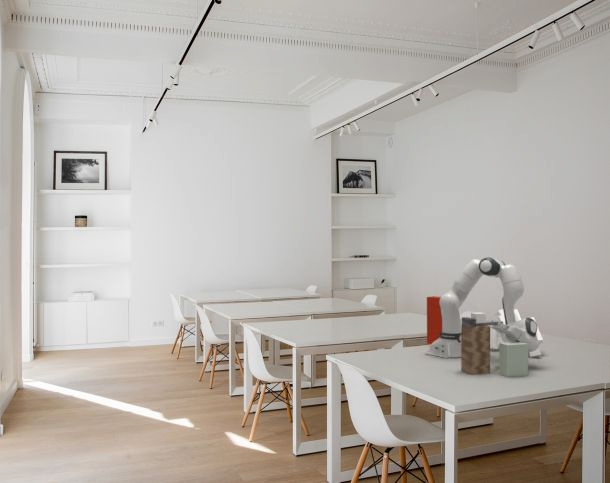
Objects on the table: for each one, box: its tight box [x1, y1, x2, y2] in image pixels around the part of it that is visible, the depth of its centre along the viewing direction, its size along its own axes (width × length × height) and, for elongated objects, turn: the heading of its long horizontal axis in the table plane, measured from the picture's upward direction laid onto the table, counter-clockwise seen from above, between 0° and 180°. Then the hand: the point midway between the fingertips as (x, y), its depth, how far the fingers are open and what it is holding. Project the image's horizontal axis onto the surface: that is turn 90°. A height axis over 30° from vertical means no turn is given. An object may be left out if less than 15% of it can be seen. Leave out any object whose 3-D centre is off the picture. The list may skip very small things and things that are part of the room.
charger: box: [470, 311, 503, 326], centre depth 315 cm, size 17×5×7 cm, turn 106°
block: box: [498, 342, 529, 378], centre depth 306 cm, size 12×7×16 cm, turn 106°
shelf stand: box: [460, 316, 491, 375], centre depth 313 cm, size 12×9×29 cm
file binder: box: [426, 295, 442, 345], centre depth 393 cm, size 8×17×32 cm, turn 36°
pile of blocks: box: [488, 308, 544, 358], centre depth 367 cm, size 35×30×35 cm
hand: (494, 322), depth 316 cm, fingers open, 5 cm apart
